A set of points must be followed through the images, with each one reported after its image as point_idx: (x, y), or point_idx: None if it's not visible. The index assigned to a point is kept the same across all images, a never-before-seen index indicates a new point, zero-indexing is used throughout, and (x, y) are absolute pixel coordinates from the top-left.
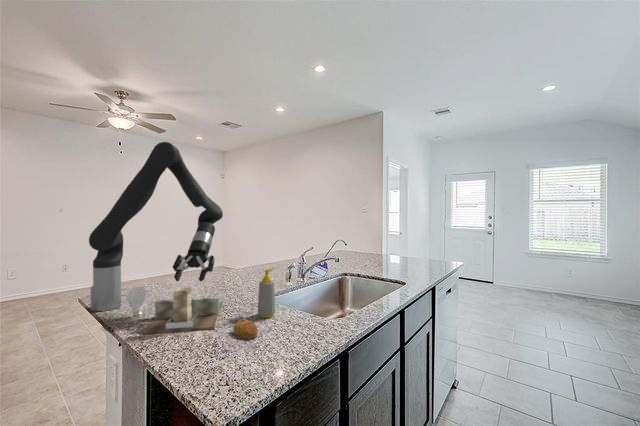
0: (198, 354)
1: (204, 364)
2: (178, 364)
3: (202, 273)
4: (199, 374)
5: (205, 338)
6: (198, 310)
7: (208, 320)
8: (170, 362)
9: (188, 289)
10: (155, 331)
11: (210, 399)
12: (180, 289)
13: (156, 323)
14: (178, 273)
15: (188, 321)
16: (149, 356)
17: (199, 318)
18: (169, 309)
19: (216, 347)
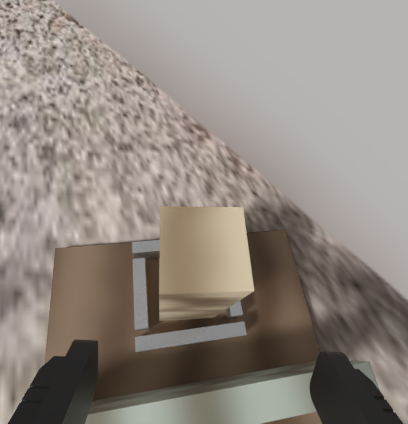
0: (86, 119)
1: (66, 84)
2: (122, 92)
3: (42, 410)
4: (72, 60)
5: (81, 193)
6: (143, 394)
7: (84, 317)
8: (141, 101)
9: (163, 239)
10: (249, 233)
11: (46, 12)
12: (218, 244)
13: (284, 299)
14: (359, 403)
15: (150, 245)
16: (197, 128)
17: (130, 345)
18: (283, 371)
19: (43, 141)
